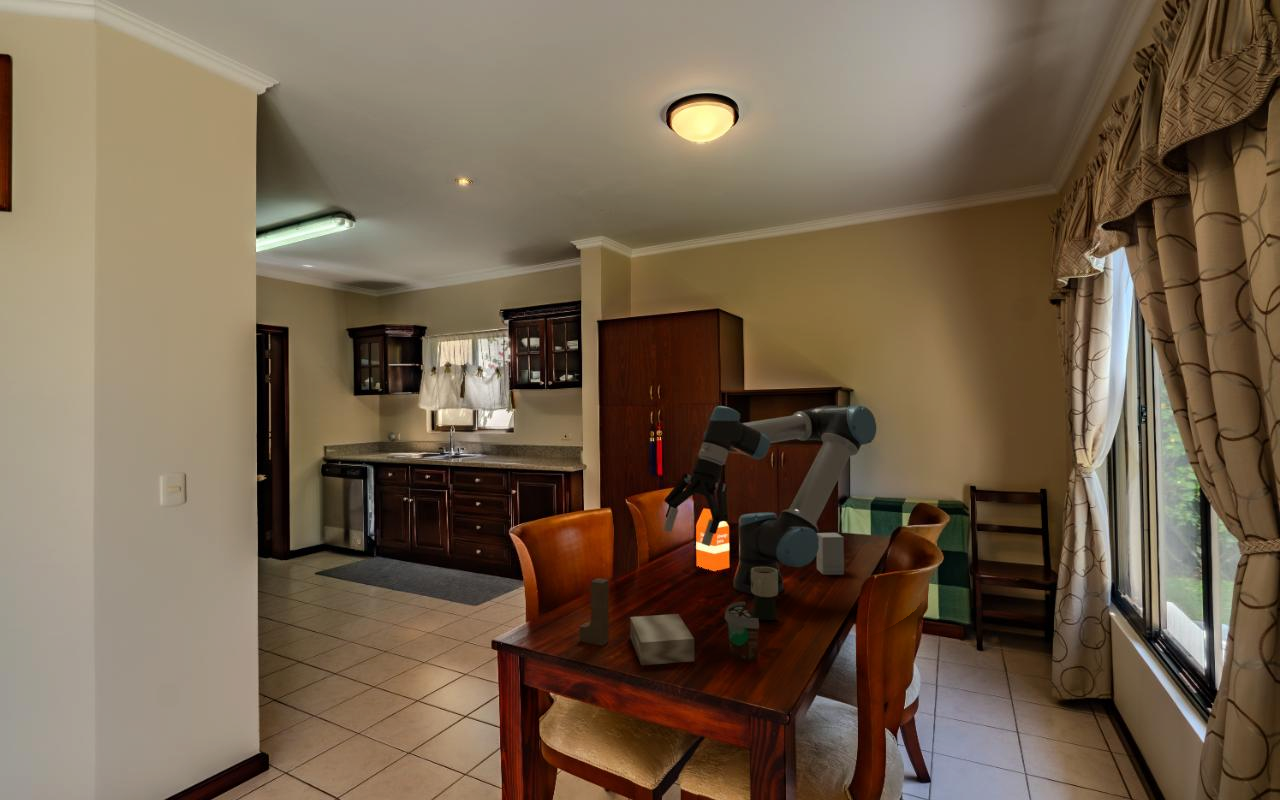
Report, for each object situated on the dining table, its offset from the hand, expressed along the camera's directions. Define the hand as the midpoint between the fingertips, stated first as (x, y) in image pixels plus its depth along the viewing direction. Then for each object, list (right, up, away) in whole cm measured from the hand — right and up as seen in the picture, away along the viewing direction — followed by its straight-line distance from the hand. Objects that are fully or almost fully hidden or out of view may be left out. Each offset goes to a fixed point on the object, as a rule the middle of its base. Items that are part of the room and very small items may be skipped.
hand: (685, 537), depth 159 cm
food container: (+11, -22, -21) cm, 32 cm away
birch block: (-7, -22, -18) cm, 29 cm away
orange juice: (+14, -22, +53) cm, 59 cm away
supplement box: (+52, -22, +45) cm, 72 cm away
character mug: (+21, -22, +1) cm, 30 cm away
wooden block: (-23, -22, -13) cm, 35 cm away
